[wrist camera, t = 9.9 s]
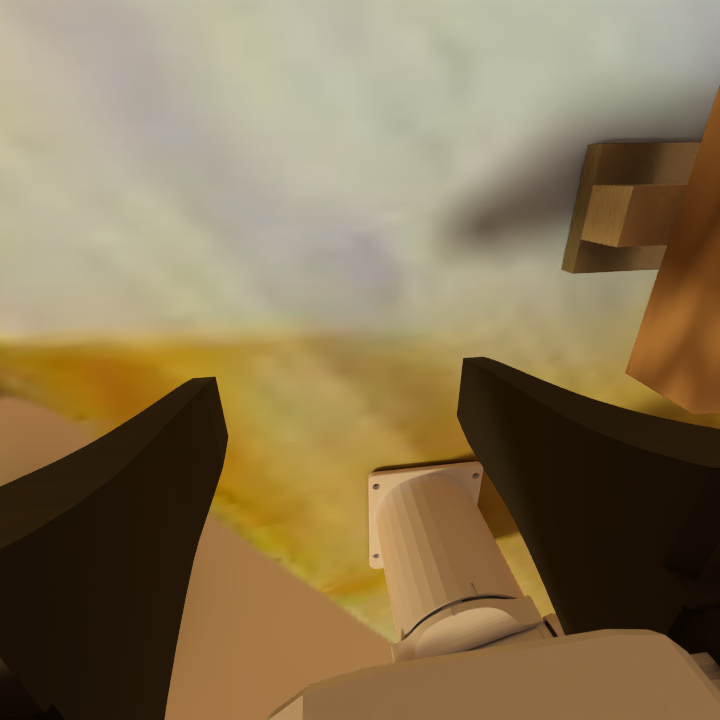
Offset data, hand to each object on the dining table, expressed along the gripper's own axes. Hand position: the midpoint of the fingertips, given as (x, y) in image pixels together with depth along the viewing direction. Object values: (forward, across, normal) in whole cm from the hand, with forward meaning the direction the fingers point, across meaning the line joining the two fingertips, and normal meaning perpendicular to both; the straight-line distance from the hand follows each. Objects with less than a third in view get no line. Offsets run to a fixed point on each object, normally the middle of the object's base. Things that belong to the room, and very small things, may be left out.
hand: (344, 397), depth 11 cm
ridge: (+10, -17, -4) cm, 20 cm away
